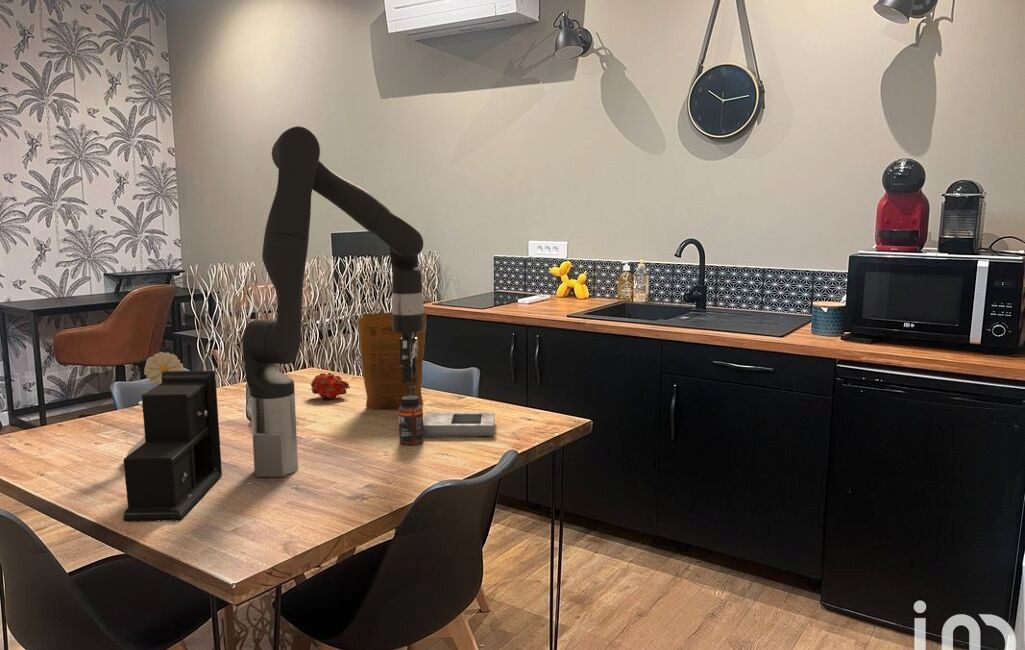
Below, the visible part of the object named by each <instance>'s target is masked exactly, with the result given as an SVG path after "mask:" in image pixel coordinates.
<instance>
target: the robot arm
mask: <svg viewBox="0 0 1025 650" xmlns="http://www.w3.org/2000/svg"><path fill="white" fill-rule="evenodd" d="M320 146H321V145H320V142H319V140H318V138H317V136H316V135H315V134H314V133H313V131H311V130H310V129H309V128H307V127H304V126H300V125H299V126H297V125H296V126H292V127H290V128H288V129H286V130H285V131H284V132H282V133H281V134H280V136H279V137H278V139H277V140H276V141H275V143H274V144H273V146H272V149H271V157H272V161H273V164H274V165H275V167H276V168H277V169H278V173H277V174H278V175H277V176H278V177H277V186H276V191H275V194H274V197H273V201H272V205H271V207H270V210H269V213H268V217H267V220H266V226H265V230H264V236H263V243H262V254H261V256H262V263H263V266H264V268H265V272H267V275H268V277H269V279H270V281H271V284H272V286H273V288H274V291H275V294H276V299H277V301H276V302H277V312H276V313H277V314H276V320H275V319H274V320H273V319H253V320H252V321H250V322H249V323H247V325H246V327H245V328H244V330H243V334H242V347H241V348H242V357H243V365H244V366H243V367H244V373H245V375H244V376H245V381H246V384H247V387H248V388H249V398H250V399H249V402H250V418H251V420H250V422H251V438H252V452H253V453H252V455H253V471H254V474H255V477H256V478H276V477H277V478H279V477H280V478H283V477H286V476H288V475H289V474H290V475H291V474H293V473H295V472H296V471H298V469H299V457H298V437H297V435H298V433H297V415H296V395H295V394H296V392H295V391H296V390H295V381H294V379H292V378H291V377H290V376H287V375H285V373H283V372H281V371H280V370H279V369H278V368H277V367H276V365H275V364H277V365H289V364H292V363H293V362H295V360H296V359H297V357H298V355H299V352H300V349H301V341H302V320H303V319H302V317H303V315H302V314H303V313H302V312H303V309H302V307H303V290H304V282H305V281H304V280H305V272H306V271H305V270H306V264H307V258H308V249H309V241H310V240H309V239H310V225H311V212H312V211H311V210H312V193H313V191H314V192H315V193H317V194H319V195H320V196H322V197H323V198H324V199H326V200H327V201H329V202H330V203H331V204H333V205H334V206H336V207H338V208H339V210H341V211H343V212H344V213H345V214H346V215H348V216H349V217H350V218H351V219H353V220H354V221H355V222H356V223H358V224H359V225H360V226H361V227H363V228H364V229H365V230H367V231H368V232H369V233H371V234H372V235H375V236H376V237H378V238H379V239H380V240H381V241H383V242H384V243H385V244H386V245H388V250H389V258H390V266H391V270H392V273H391V275H392V277H391V278H392V279H391V280H392V281H391V284H392V285H391V287H392V289H391V290H392V296H391V312H392V329H393V331H394V332H398V333H399V332H400V333H402V338H401V340H399V345H400V365H401V366H402V381H403V382H411V381H412V374H415V373H416V359H415V358H417V353H418V346H417V343H418V338H417V332H421V331H423V330H424V312H425V309H424V308H425V307H424V306H425V305H424V304H425V303H424V297H423V277H422V272H421V268H420V267H419V255H420V253H421V252H422V250H423V249H424V238H423V236H422V234H421V233H420V231H418V230H417V229H416V228H415V227H413V225H411V224H409V223H408V222H407V221H405V220H404V219H402V218H401V217H399V216H398V215H396V214H395V213H393V211H392V210H391V209H390V208H388V207H387V206H386V205H385V204H383V203H382V202H381V201H380V200H379V199H378V198H376V197H375V196H374V195H372V194H371V193H370V192H368V191H367V190H366V189H364V188H362V187H361V186H359V185H357V184H356V183H353V182H352V181H349V180H347V179H345V178H343V177H341V176H340V175H338V174H337V173H335V172H334V171H332V170H331V169H330V168H328V167H327V166H326V165H325V164H324V162H322V161H321V160H320V155H321V147H320ZM404 358H408V359H407V360H404Z"/></svg>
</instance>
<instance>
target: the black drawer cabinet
mask: <svg viewBox="0 0 1025 650" xmlns="http://www.w3.org/2000/svg"><path fill="white" fill-rule="evenodd" d="M161 379H162V383H161V384H159V385H156V386H154V387H153V388H151V389H150V390H148V392H146V393H143V394H142V395H141V401H142V405H143V408H142V419H143V426H144V427H143V429H144V430H143V431H144V436H145V443H144V444H143V445H141V446H140V447H139V448H137V449H136V450H135V451H133V452H132V453H131V454H129V455H128V456H127V455H126V456H125V457H124V458H123V469H124V471H123V472H124V478H125V479H124V481H125V488H126V489H125V490H126V500H127V508H126V509H125V510H124V512H123V518H122V519H123V522H124V521H128V522H163V521H162V520H167V521H166V522H177V521H176V520H178V522H180V521H179V520H181V521H182V520H184V519H185V517H186V516H187V515H188V514H189V512H191V510H193V508H194V507H195V506H196V505H197V504H198V503H199V502H200V501H201V500H202V499H203V497H204V496H205V495H206V494H207V493H208V492H209V491H210V490H211V488H212V487H214V486H215V484H216V483H217V481H219V480H220V479H221V477H222V476H223V470H222V455H221V454H222V453H221V439H220V438H221V437H220V435H221V434H220V425H219V423H220V422H219V411H218V410H219V408H218V394H217V380H216V370H182V371H163V373H162V376H161ZM155 520H156V521H155ZM158 520H160V521H158ZM169 520H171V521H169Z"/></svg>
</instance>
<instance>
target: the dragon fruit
mask: <svg viewBox="0 0 1025 650" xmlns="http://www.w3.org/2000/svg"><path fill="white" fill-rule="evenodd" d="M310 386H311V389H310V390H311V393H312V394H315V395H318V396H320V398H321V399H322V400H324V399H325V398H328V399H331V400H334V399H336V400H339V399H342V397H341V396H342V395H344V394H345V395H347V390H348V389H350V388H351V387H350V384H349V383H348V382H347V381H345V380H343V379H342V378H341V376H339V375H336V374H335V373H331V372H328V373H326V372H324V373H323V372H321V373H319V374H317V375H315V377H314V378H313V379H312V382H311V383H310ZM340 395H341V396H340ZM337 396H339V397H337Z"/></svg>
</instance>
